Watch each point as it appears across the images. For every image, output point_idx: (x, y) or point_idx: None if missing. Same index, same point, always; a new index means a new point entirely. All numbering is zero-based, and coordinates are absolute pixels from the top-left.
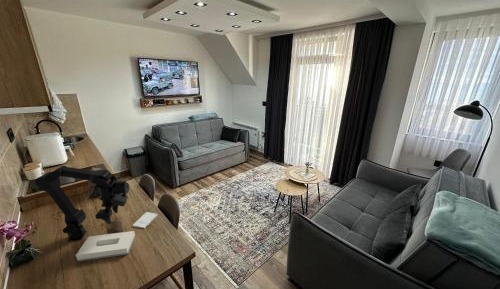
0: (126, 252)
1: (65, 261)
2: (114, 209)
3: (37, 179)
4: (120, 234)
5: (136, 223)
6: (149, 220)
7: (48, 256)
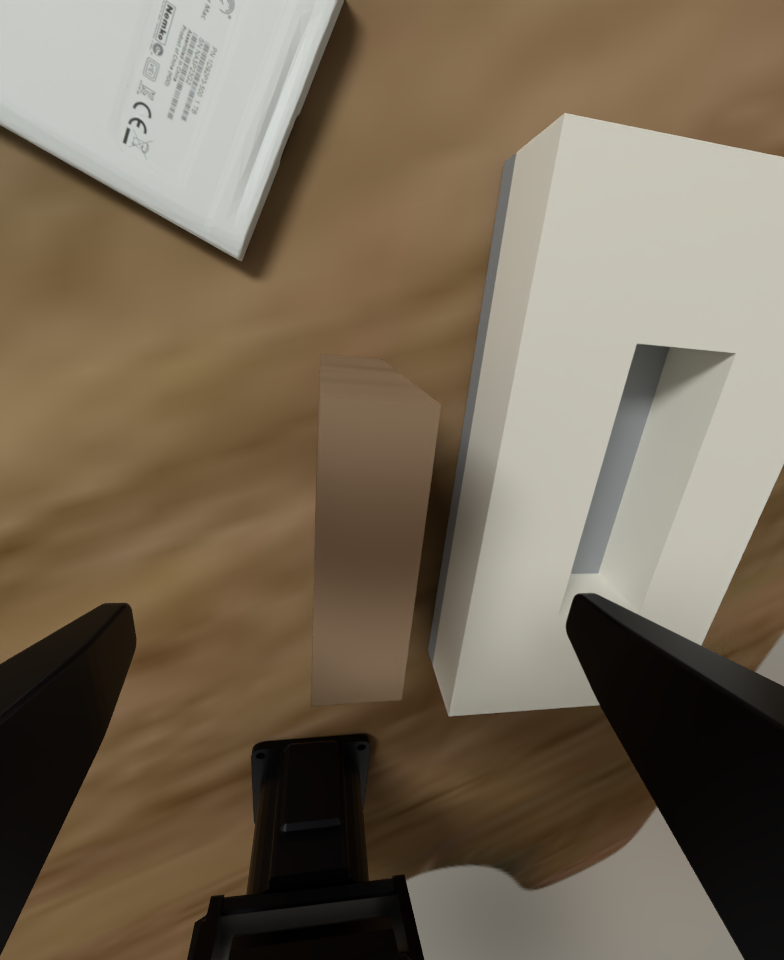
0: None
1: (581, 713)
2: (57, 773)
3: None
4: (558, 361)
5: (197, 176)
6: None
7: (484, 819)
